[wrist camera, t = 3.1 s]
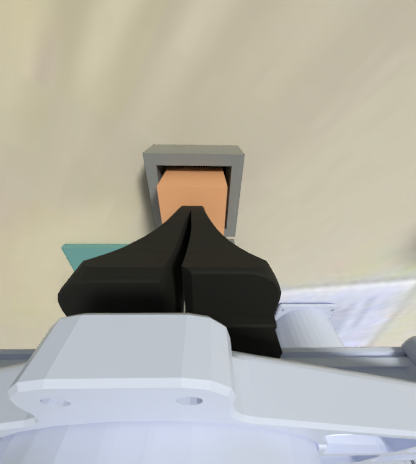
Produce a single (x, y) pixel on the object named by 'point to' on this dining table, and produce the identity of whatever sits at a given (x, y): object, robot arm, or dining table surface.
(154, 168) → the housing
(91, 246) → the mat
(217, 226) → the orange cube
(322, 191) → the dining table surface
